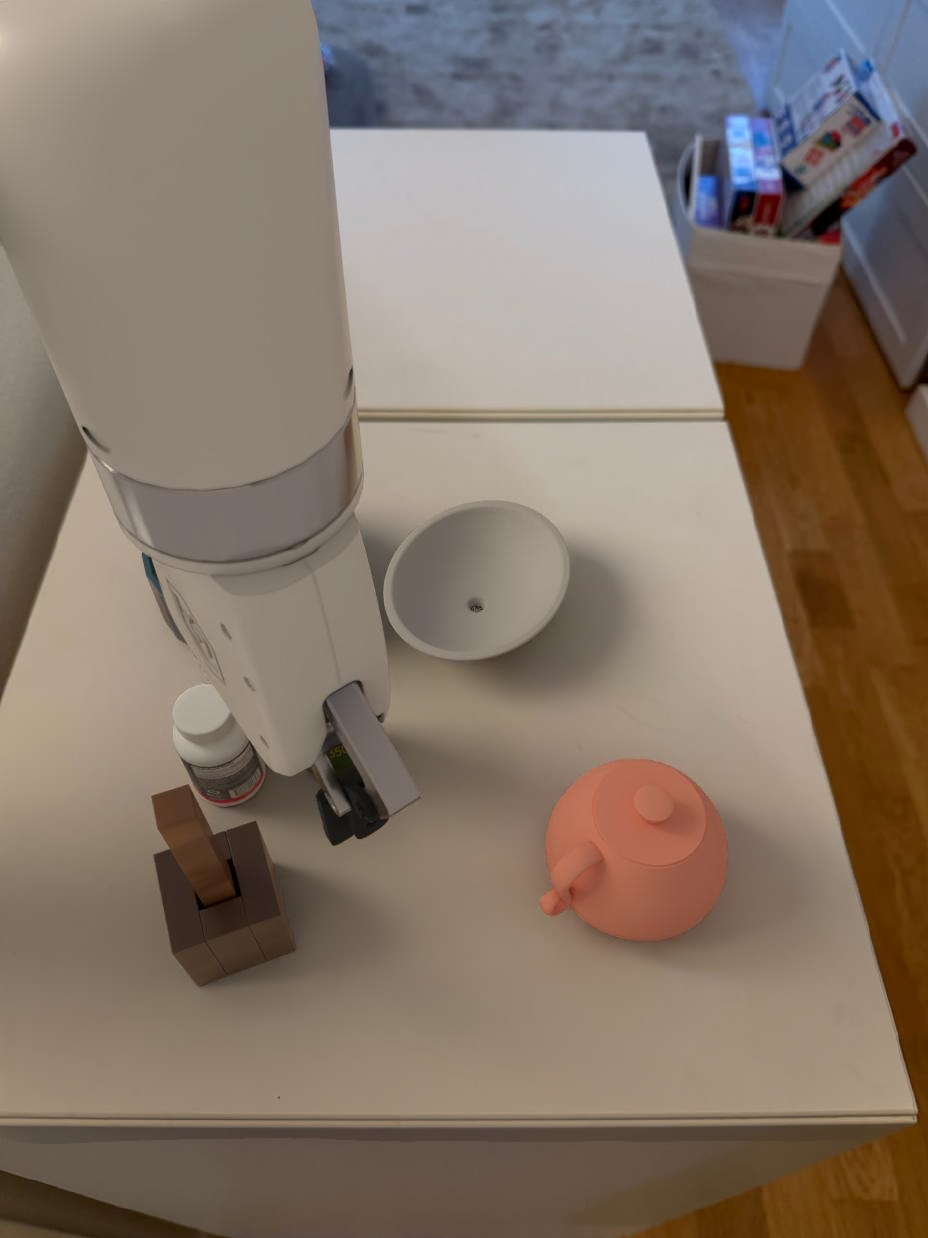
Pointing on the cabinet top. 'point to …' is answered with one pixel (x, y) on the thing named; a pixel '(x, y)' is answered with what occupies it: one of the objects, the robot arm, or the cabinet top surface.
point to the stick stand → (226, 911)
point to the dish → (477, 580)
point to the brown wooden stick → (194, 845)
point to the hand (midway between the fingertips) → (304, 737)
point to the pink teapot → (635, 851)
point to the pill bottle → (215, 748)
